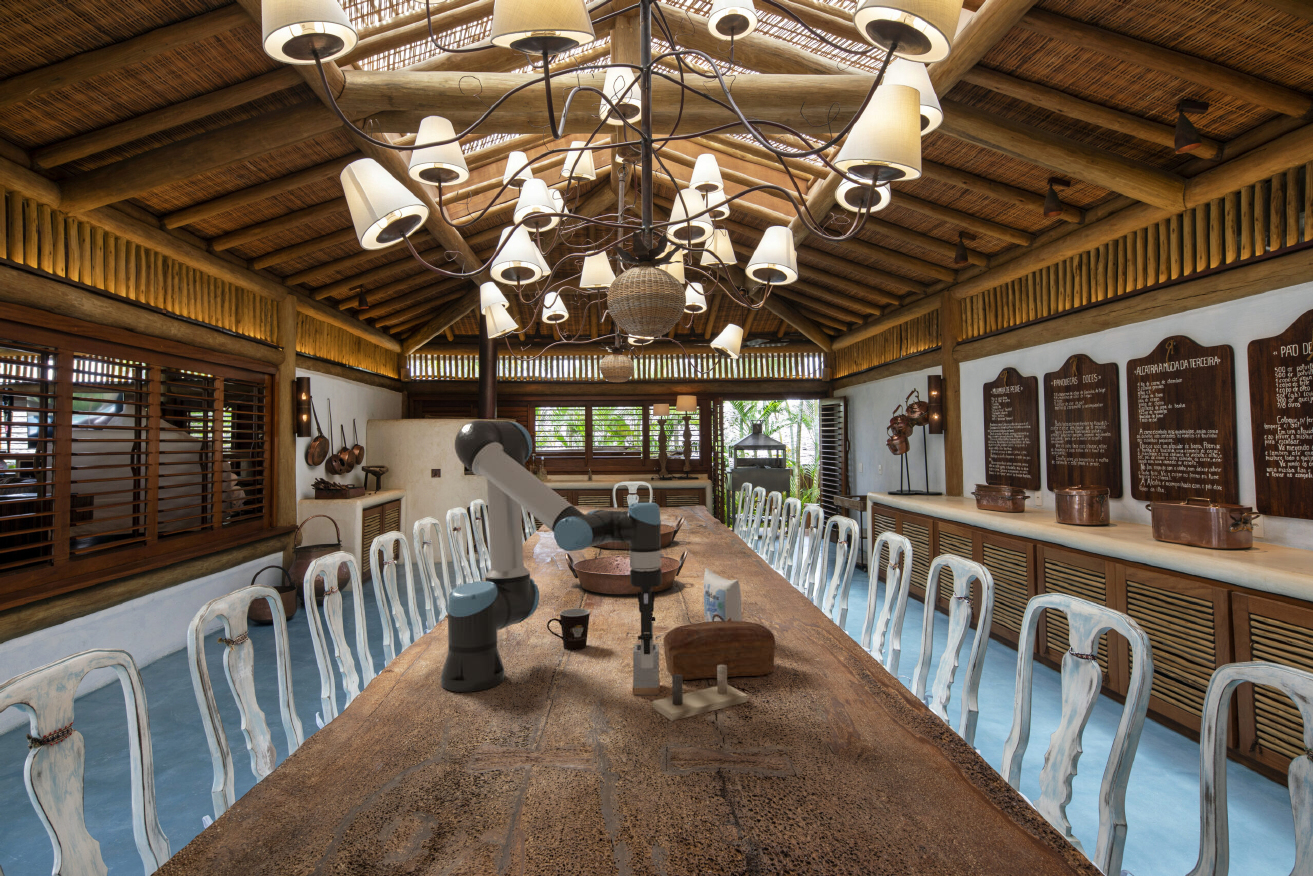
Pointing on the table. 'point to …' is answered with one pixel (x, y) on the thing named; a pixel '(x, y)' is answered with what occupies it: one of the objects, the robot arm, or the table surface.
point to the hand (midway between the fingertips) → (647, 658)
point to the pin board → (699, 698)
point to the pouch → (721, 598)
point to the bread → (719, 649)
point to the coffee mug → (573, 628)
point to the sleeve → (645, 673)
